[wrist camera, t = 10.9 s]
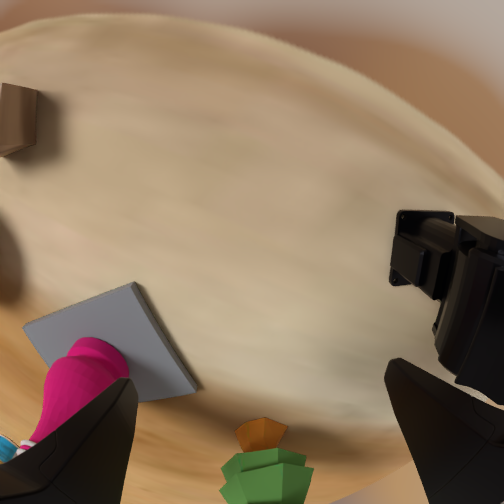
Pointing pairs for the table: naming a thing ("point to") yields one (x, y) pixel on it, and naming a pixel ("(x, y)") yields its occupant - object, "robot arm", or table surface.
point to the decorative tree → (265, 468)
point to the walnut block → (17, 118)
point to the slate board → (117, 340)
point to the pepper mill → (76, 383)
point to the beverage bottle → (7, 449)
